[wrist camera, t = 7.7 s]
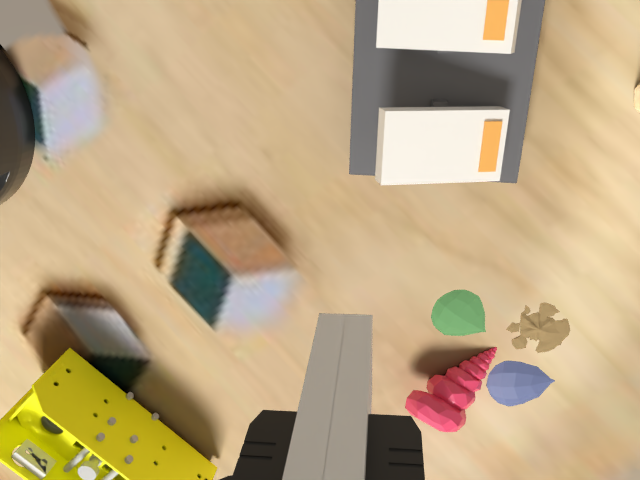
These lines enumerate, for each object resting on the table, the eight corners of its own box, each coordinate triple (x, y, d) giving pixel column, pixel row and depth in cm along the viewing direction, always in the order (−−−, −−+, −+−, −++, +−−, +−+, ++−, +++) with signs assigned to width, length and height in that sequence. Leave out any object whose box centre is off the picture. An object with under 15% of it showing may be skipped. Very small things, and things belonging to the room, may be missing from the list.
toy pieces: (512, 439, 44) (523, 481, 40) (384, 380, 44) (382, 417, 40) (603, 321, 40) (626, 356, 36) (460, 254, 39) (467, 282, 35)
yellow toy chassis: (41, 378, 48) (-27, 447, 41) (76, 340, 46) (12, 405, 39) (183, 490, 51) (144, 574, 43) (222, 459, 49) (188, 542, 41)
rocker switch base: (352, 162, 37) (347, 179, 34) (367, -184, 30) (362, -213, 26) (507, 170, 36) (520, 189, 32) (560, -188, 29) (585, -219, 25)
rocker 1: (374, 179, 32) (381, 185, 31) (379, 107, 30) (386, 111, 29) (490, 175, 33) (500, 181, 32) (499, 106, 32) (510, 110, 30)
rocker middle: (383, 46, 31) (375, 47, 30) (388, -34, 30) (379, -36, 29) (514, 52, 28) (510, 54, 27) (526, -36, 27) (522, -38, 26)
